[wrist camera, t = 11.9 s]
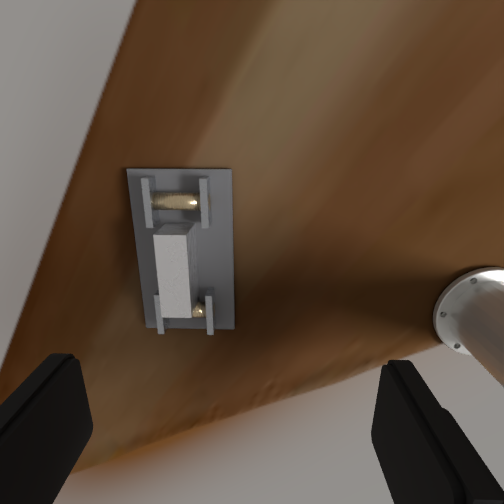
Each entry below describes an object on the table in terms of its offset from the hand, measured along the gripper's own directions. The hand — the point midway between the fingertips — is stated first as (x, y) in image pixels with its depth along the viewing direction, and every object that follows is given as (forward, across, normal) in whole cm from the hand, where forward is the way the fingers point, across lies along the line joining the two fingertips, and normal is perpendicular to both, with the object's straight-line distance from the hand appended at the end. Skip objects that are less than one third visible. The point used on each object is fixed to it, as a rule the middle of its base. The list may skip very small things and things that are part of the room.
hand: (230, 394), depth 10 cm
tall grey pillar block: (+30, +9, +7) cm, 32 cm away
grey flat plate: (+30, +8, +6) cm, 32 cm away
